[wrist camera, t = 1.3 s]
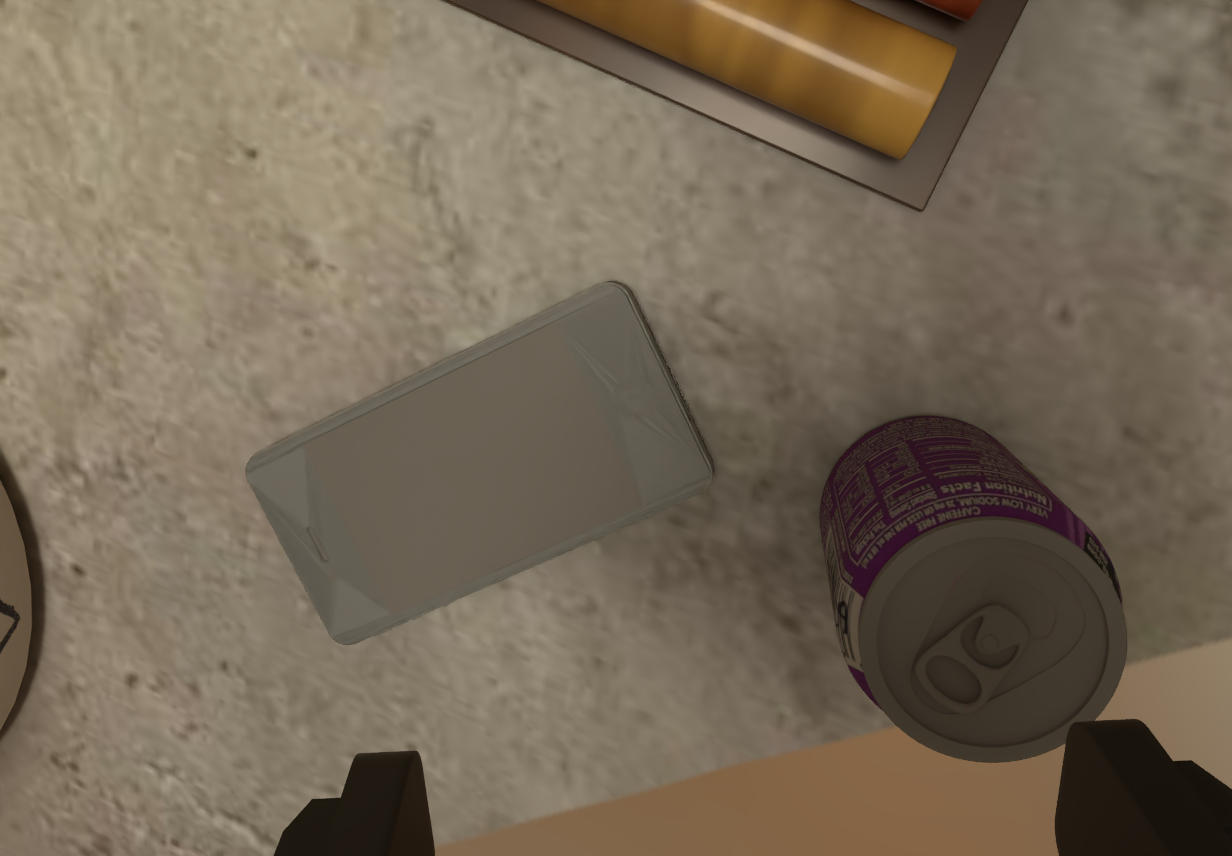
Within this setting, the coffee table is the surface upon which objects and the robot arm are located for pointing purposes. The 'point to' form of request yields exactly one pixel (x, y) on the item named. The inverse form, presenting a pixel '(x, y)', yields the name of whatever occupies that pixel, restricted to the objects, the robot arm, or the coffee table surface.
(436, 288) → the coffee table surface
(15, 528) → the planter
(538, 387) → the phone
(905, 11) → the rod rack
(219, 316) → the coffee table surface
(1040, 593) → the beverage can
